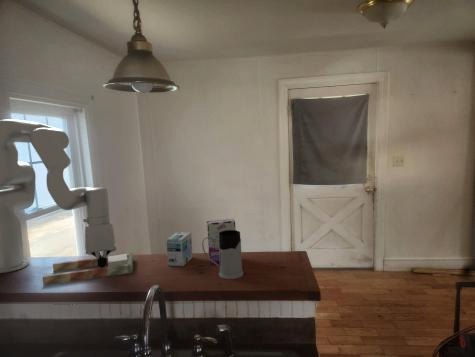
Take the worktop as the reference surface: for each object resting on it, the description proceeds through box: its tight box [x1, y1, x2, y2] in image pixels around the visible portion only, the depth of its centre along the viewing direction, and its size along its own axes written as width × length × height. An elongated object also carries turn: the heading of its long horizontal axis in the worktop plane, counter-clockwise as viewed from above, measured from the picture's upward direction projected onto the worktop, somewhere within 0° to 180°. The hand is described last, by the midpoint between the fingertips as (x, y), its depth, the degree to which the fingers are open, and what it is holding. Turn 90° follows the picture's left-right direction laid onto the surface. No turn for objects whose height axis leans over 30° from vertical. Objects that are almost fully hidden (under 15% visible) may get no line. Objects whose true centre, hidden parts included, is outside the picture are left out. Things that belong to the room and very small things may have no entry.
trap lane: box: [42, 252, 134, 286], centre depth 115 cm, size 29×14×3 cm, turn 107°
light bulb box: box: [166, 231, 193, 267], centre depth 122 cm, size 11×7×11 cm, turn 168°
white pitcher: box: [201, 230, 244, 280], centre depth 108 cm, size 9×14×15 cm, turn 91°
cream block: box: [107, 253, 128, 267], centre depth 119 cm, size 7×7×4 cm
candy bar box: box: [206, 218, 237, 265], centre depth 121 cm, size 11×5×16 cm, turn 102°
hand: (102, 267), depth 116 cm, fingers closed
